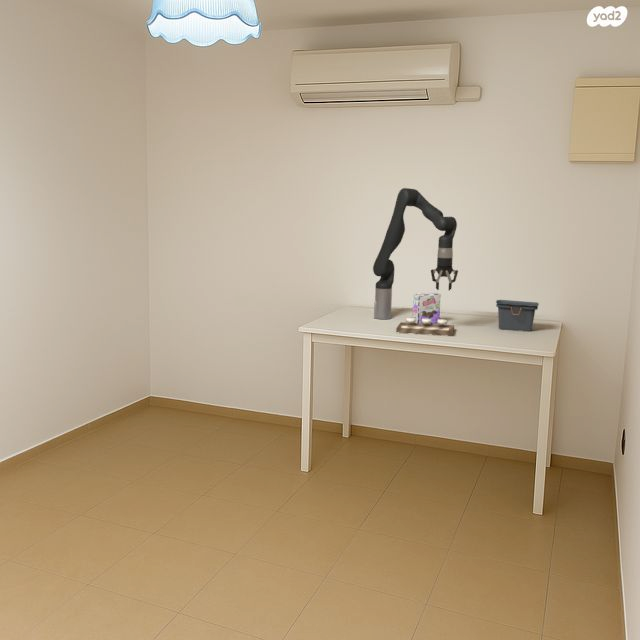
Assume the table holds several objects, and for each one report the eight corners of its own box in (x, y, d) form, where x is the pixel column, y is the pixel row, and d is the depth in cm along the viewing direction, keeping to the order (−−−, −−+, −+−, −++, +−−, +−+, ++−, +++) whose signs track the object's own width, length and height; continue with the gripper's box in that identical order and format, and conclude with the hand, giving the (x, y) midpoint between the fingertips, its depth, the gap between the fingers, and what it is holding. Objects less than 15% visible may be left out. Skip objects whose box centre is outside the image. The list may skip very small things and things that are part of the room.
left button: (405, 322, 347) (405, 318, 347) (406, 320, 352) (406, 317, 351) (415, 323, 346) (415, 319, 345) (416, 321, 350) (416, 317, 350)
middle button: (421, 323, 345) (421, 319, 345) (422, 321, 350) (422, 318, 349) (430, 323, 344) (430, 320, 344) (431, 322, 348) (431, 318, 348)
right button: (437, 324, 343) (437, 320, 343) (437, 322, 348) (437, 318, 347) (446, 324, 342) (446, 320, 342) (447, 323, 347) (447, 319, 346)
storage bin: (536, 328, 356) (538, 301, 353) (536, 333, 341) (538, 306, 339) (495, 325, 362) (497, 299, 360) (493, 330, 348) (495, 303, 345)
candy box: (417, 325, 362) (418, 294, 359) (412, 323, 367) (413, 293, 364) (439, 323, 367) (440, 293, 364) (434, 321, 372) (435, 292, 369)
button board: (396, 332, 340) (396, 327, 340) (400, 326, 356) (400, 321, 355) (452, 336, 334) (452, 330, 333) (454, 330, 349) (454, 324, 348)
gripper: (459, 256, 340) (458, 289, 343) (431, 255, 344) (430, 288, 347) (459, 257, 333) (457, 291, 336) (429, 256, 337) (428, 290, 340)
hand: (443, 289), depth 342 cm, fingers open, 5 cm apart
